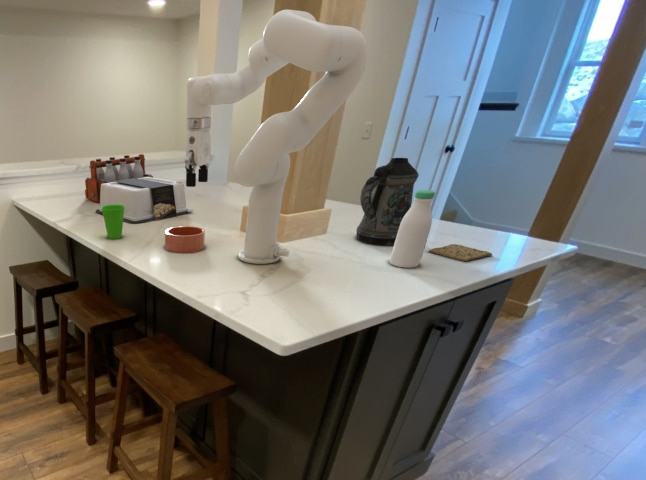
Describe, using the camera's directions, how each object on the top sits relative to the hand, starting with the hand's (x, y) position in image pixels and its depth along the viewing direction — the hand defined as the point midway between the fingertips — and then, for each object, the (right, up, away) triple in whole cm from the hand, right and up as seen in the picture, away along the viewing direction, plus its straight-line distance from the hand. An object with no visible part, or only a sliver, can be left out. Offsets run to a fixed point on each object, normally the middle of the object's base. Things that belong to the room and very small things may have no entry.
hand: (196, 184), depth 148 cm
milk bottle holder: (-28, +33, +89) cm, 99 cm away
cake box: (-17, +13, +57) cm, 61 cm away
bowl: (-3, -19, +7) cm, 20 cm away
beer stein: (+63, -18, +4) cm, 66 cm away
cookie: (+79, -27, -11) cm, 84 cm away
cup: (-28, -11, +22) cm, 37 cm away
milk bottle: (+59, -32, -17) cm, 69 cm away
